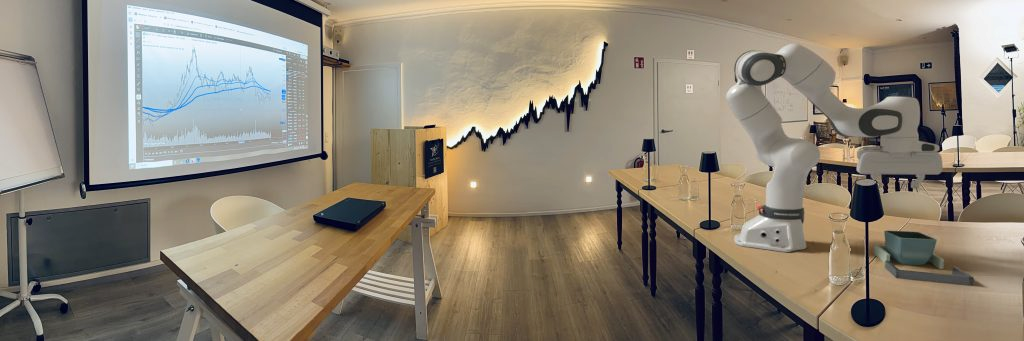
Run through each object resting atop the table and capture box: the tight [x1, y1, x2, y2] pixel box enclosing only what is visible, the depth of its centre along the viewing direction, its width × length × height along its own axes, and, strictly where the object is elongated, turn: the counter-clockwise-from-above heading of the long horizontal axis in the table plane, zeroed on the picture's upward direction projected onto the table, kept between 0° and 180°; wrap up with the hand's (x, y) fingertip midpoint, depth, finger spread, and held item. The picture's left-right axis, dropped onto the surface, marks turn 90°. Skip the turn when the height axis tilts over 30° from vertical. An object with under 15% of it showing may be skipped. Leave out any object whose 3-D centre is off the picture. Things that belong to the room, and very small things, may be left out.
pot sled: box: [873, 243, 945, 270], centre depth 123 cm, size 13×13×6 cm
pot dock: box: [884, 260, 974, 287], centre depth 111 cm, size 15×8×2 cm, turn 63°
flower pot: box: [883, 230, 938, 266], centre depth 121 cm, size 9×9×9 cm
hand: (896, 187), depth 130 cm, fingers open, 8 cm apart
